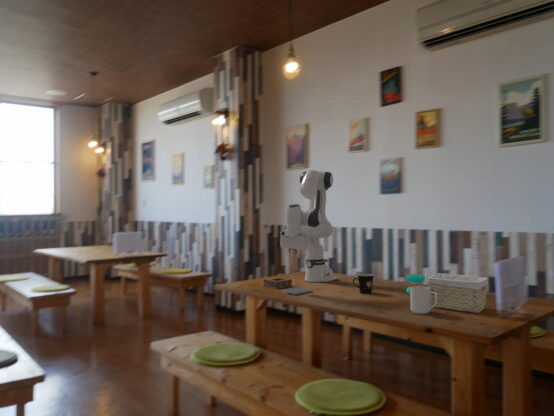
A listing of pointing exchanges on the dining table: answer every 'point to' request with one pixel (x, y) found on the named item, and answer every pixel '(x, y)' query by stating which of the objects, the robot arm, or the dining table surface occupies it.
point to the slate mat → (296, 291)
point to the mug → (421, 299)
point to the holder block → (277, 283)
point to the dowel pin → (294, 260)
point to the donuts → (414, 280)
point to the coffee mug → (365, 283)
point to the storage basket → (458, 292)
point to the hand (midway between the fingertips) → (294, 256)
